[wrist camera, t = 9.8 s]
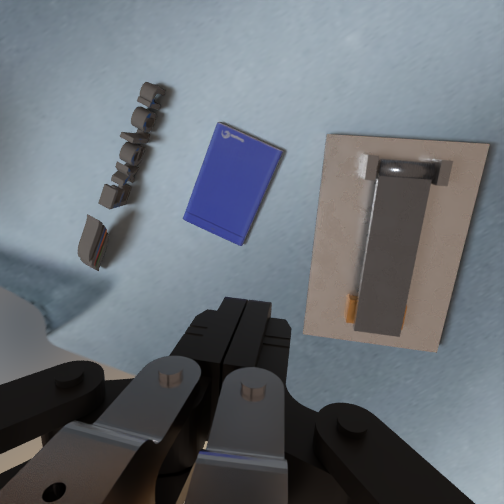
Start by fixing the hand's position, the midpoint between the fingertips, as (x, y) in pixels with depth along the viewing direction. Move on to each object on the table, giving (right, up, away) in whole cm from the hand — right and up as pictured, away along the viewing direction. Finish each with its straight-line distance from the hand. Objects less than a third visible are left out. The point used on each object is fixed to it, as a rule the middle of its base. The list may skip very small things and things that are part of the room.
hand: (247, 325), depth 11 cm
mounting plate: (+16, +3, +30) cm, 34 cm away
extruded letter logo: (-16, +11, +34) cm, 39 cm away
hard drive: (-2, +11, +32) cm, 33 cm away
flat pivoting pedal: (+15, +3, +27) cm, 31 cm away
